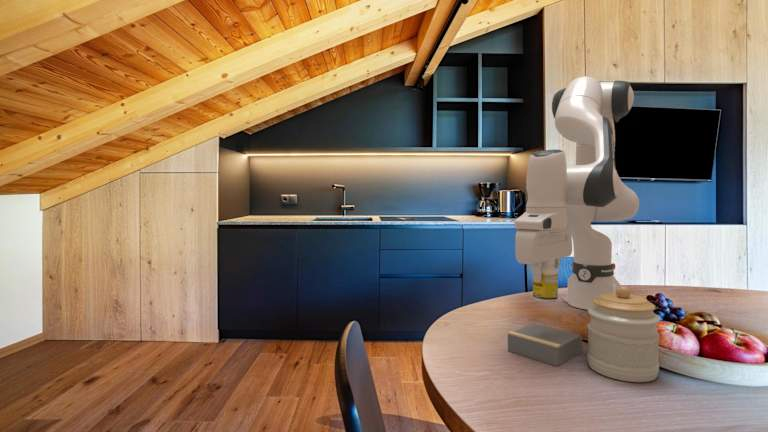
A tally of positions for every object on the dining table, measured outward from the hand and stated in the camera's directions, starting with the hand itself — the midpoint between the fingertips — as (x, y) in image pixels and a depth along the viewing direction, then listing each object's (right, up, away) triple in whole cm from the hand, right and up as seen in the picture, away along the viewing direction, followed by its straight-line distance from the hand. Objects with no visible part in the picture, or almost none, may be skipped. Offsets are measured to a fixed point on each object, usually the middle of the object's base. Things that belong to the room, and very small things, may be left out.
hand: (545, 279), depth 94 cm
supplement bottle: (0, -5, 0) cm, 5 cm away
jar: (+12, -18, -9) cm, 23 cm away
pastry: (+17, -17, +10) cm, 26 cm away
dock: (0, -17, +1) cm, 17 cm away
